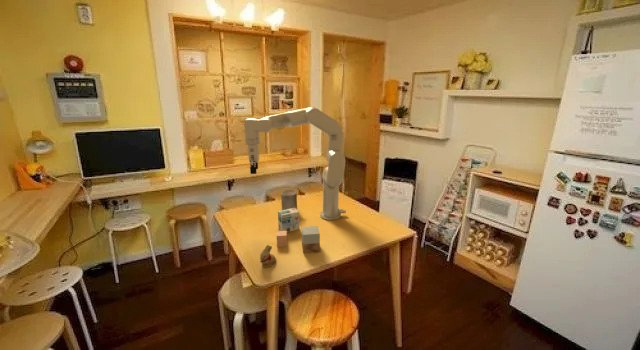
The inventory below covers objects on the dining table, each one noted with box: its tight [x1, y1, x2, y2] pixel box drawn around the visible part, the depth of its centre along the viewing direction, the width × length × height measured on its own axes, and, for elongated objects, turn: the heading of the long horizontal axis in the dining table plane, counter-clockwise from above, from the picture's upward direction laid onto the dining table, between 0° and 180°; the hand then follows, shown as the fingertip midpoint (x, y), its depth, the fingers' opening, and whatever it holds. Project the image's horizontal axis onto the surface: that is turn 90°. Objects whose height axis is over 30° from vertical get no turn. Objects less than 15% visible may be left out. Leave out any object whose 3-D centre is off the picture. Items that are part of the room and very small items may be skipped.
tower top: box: [301, 225, 321, 244], centre depth 139 cm, size 8×8×5 cm
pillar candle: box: [280, 189, 298, 210], centre depth 180 cm, size 10×10×15 cm
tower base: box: [301, 240, 321, 254], centre depth 141 cm, size 8×8×5 cm
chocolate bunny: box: [259, 244, 277, 269], centre depth 127 cm, size 6×8×10 cm
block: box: [276, 230, 288, 248], centre depth 144 cm, size 5×5×6 cm
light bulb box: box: [277, 208, 300, 233], centre depth 159 cm, size 11×7×11 cm, turn 117°
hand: (254, 171), depth 162 cm, fingers open, 9 cm apart
